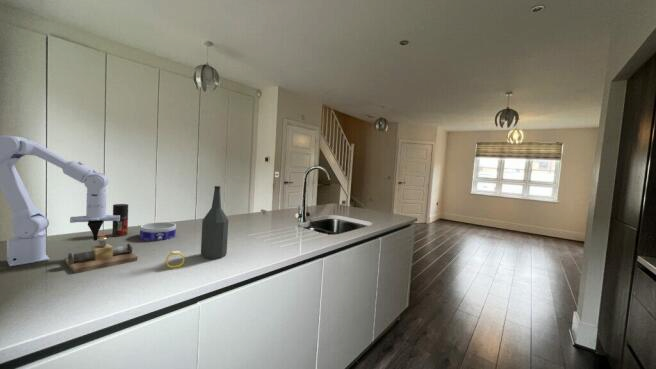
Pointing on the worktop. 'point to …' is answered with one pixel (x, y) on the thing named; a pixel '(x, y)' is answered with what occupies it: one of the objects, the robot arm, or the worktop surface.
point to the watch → (174, 254)
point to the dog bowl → (157, 231)
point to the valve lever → (102, 239)
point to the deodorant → (120, 226)
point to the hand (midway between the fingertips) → (95, 239)
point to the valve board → (101, 262)
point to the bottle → (214, 230)
